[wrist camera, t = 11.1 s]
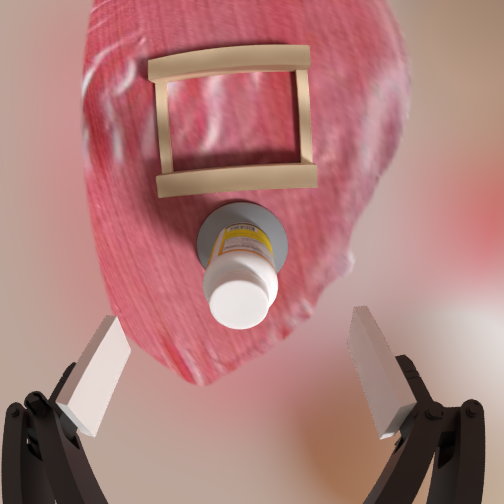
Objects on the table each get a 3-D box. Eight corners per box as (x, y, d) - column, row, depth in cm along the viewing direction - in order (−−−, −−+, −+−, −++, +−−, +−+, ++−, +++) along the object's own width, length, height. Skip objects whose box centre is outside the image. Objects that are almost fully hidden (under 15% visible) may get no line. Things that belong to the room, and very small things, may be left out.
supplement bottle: (238, 282, 29) (232, 349, 19) (203, 242, 27) (178, 298, 18) (282, 252, 27) (297, 313, 18) (248, 208, 26) (246, 251, 16)
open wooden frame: (156, 66, 21) (147, 60, 18) (304, 53, 20) (309, 45, 18) (166, 192, 26) (158, 198, 23) (311, 183, 25) (317, 187, 23)
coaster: (192, 205, 26) (191, 206, 26) (286, 199, 26) (286, 200, 25) (204, 286, 30) (203, 289, 29) (287, 282, 29) (288, 285, 29)
